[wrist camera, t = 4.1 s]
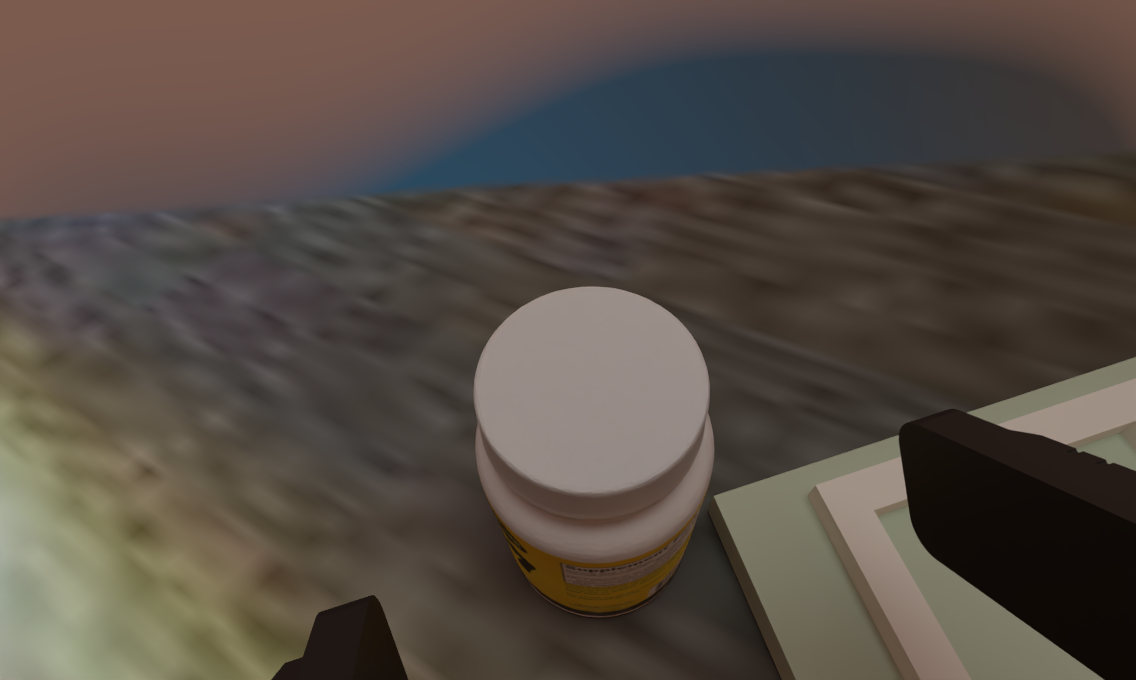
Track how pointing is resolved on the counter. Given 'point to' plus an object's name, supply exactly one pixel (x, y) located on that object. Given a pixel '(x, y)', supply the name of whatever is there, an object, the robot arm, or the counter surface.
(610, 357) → the supplement bottle
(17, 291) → the counter surface
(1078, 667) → the grey-green flat tray
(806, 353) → the counter surface
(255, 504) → the counter surface
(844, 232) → the counter surface
